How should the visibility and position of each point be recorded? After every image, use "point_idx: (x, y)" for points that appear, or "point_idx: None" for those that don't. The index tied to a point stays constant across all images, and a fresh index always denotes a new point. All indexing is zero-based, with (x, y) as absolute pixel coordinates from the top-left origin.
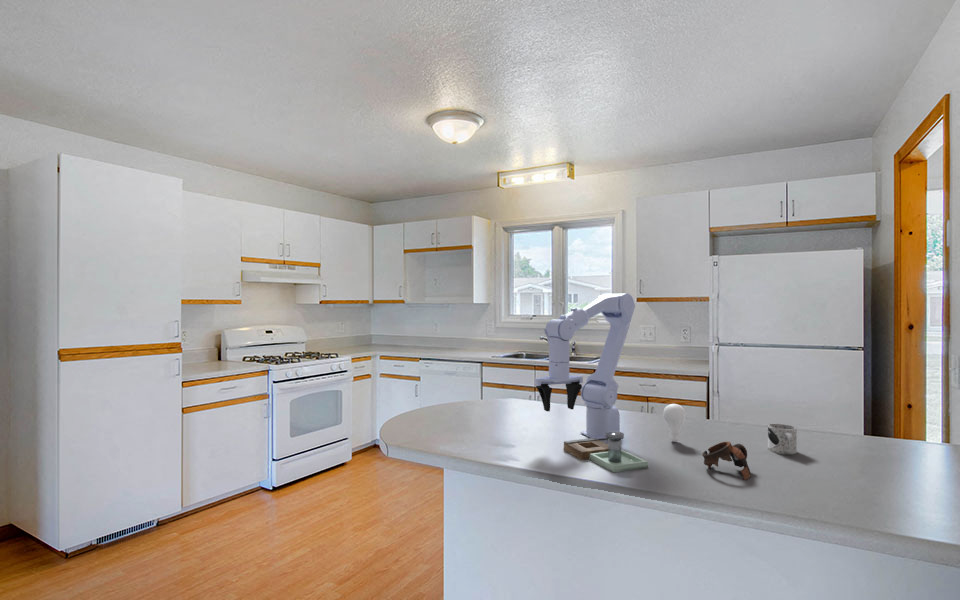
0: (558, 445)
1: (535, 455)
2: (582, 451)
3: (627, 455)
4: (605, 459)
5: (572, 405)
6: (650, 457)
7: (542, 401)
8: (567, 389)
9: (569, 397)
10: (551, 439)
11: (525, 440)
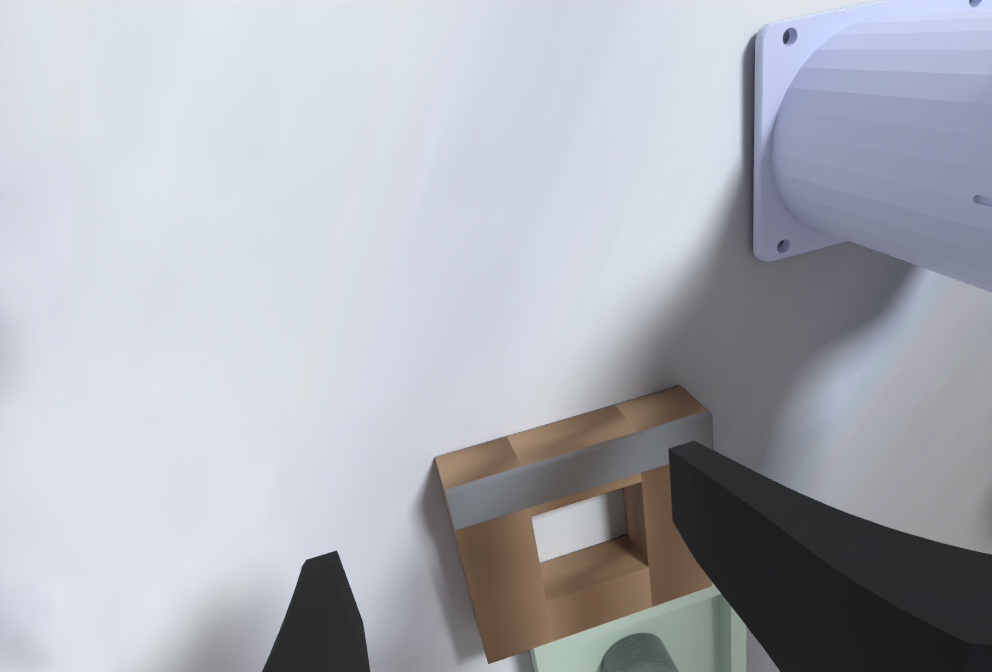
0: (428, 358)
1: (186, 570)
2: (495, 656)
3: (725, 621)
4: (595, 646)
5: (705, 568)
6: None
7: (270, 659)
8: (866, 616)
9: (767, 570)
10: (421, 184)
11: (142, 184)
